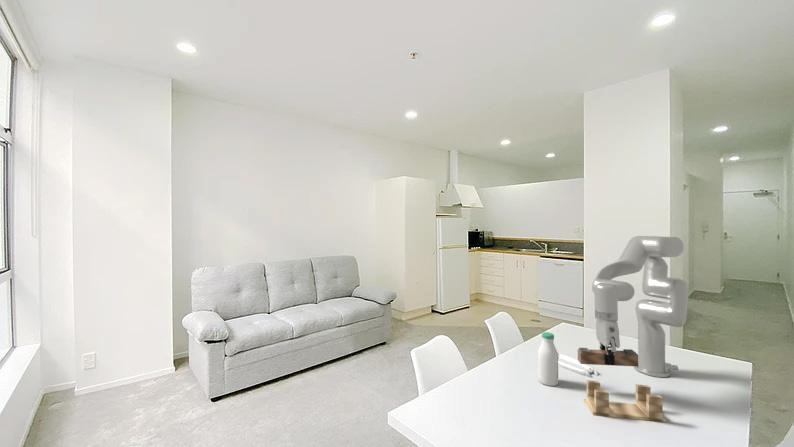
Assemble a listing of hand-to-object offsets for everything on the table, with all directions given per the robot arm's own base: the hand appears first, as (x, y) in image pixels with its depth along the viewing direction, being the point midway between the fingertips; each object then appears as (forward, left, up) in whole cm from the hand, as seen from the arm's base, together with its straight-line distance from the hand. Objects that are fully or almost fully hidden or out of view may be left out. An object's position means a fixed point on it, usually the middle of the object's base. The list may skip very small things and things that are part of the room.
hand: (607, 361), depth 128 cm
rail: (0, 0, -1) cm, 1 cm away
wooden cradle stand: (+1, +14, -12) cm, 18 cm away
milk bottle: (+21, -4, -12) cm, 24 cm away
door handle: (+7, -24, -12) cm, 28 cm away
